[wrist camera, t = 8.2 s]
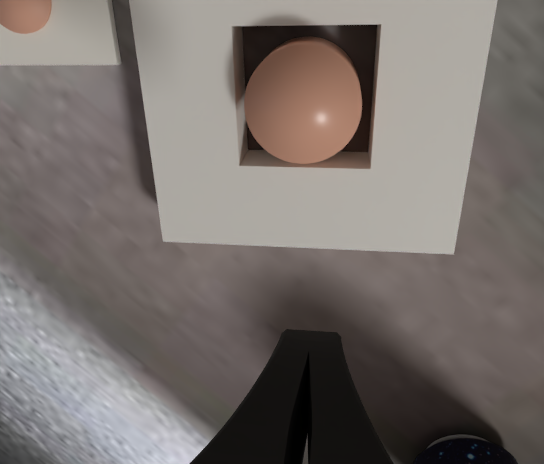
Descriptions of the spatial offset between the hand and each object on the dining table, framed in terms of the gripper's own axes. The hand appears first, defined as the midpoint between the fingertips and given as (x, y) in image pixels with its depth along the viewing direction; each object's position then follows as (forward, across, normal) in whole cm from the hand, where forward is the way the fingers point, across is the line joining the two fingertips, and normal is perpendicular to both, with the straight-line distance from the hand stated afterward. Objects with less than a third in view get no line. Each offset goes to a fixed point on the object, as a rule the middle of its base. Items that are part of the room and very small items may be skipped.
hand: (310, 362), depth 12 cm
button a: (+10, +1, -4) cm, 11 cm away
